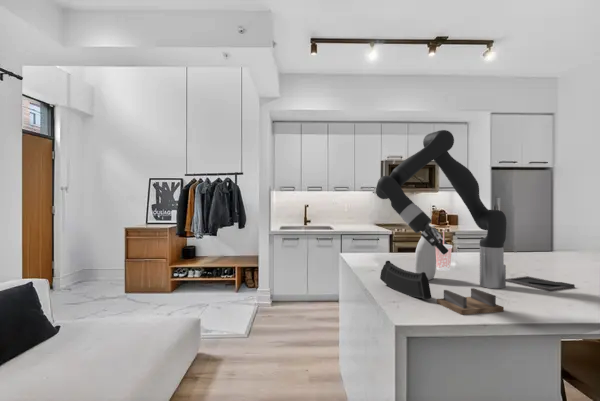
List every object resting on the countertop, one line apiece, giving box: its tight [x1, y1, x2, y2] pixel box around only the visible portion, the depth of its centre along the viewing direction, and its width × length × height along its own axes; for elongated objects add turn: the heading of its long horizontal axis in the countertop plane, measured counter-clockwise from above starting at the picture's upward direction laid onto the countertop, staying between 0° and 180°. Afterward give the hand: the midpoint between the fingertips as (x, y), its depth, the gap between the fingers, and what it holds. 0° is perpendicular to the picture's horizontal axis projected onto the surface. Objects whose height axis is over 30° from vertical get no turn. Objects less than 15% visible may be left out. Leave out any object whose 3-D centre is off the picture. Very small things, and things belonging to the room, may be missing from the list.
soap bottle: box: [414, 223, 437, 281], centre depth 173 cm, size 14×8×27 cm, turn 127°
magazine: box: [379, 260, 432, 300], centre depth 149 cm, size 17×3×30 cm
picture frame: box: [506, 275, 576, 292], centre depth 163 cm, size 16×2×21 cm
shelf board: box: [436, 287, 504, 316], centre depth 129 cm, size 16×14×5 cm
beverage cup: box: [435, 230, 454, 272], centre depth 133 cm, size 6×6×14 cm
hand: (448, 251), depth 132 cm, fingers closed on beverage cup, 6 cm apart
